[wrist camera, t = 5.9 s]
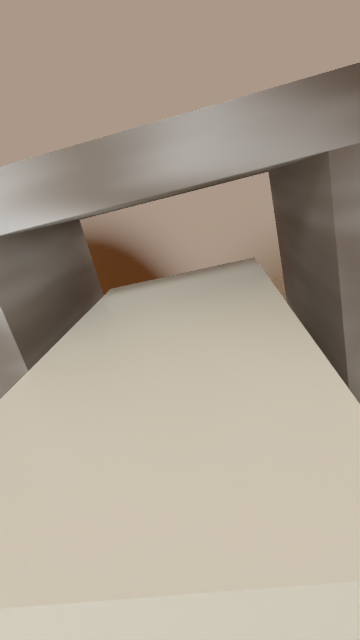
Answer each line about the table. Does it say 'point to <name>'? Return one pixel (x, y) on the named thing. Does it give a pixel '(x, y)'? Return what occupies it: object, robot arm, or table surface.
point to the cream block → (181, 473)
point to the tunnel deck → (184, 176)
